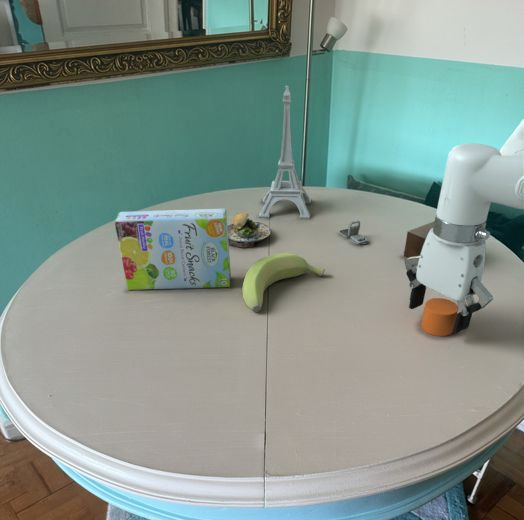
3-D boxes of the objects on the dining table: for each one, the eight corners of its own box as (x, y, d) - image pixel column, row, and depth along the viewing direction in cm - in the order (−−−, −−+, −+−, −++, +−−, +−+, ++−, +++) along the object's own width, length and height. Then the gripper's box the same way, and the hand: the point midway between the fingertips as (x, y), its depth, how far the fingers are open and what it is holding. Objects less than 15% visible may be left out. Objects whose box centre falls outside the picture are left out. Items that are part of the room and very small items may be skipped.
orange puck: (459, 328, 93) (465, 307, 90) (439, 340, 90) (444, 318, 88) (434, 315, 97) (439, 294, 94) (414, 325, 94) (418, 304, 91)
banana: (229, 253, 103) (317, 245, 110) (225, 274, 107) (310, 265, 114) (254, 299, 95) (346, 287, 103) (249, 320, 99) (338, 307, 107)
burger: (257, 252, 119) (256, 221, 115) (213, 242, 124) (211, 212, 119) (279, 232, 128) (279, 203, 124) (238, 224, 132) (236, 195, 128)
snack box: (231, 275, 110) (226, 207, 102) (230, 288, 106) (225, 218, 97) (131, 278, 110) (118, 209, 101) (126, 291, 106) (112, 221, 97)
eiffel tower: (258, 217, 136) (255, 91, 118) (263, 199, 147) (261, 81, 129) (309, 218, 135) (314, 91, 117) (311, 200, 145) (315, 81, 128)
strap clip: (368, 243, 122) (371, 226, 120) (358, 246, 121) (360, 228, 119) (348, 230, 128) (350, 214, 126) (338, 232, 127) (339, 216, 125)
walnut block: (469, 259, 115) (475, 234, 111) (439, 272, 110) (445, 246, 106) (432, 244, 121) (437, 219, 118) (403, 256, 116) (407, 231, 113)
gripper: (521, 240, 78) (491, 333, 89) (430, 206, 90) (413, 292, 100) (491, 253, 75) (464, 348, 85) (400, 216, 86) (386, 304, 96)
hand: (436, 318), depth 92 cm, fingers open, 9 cm apart
